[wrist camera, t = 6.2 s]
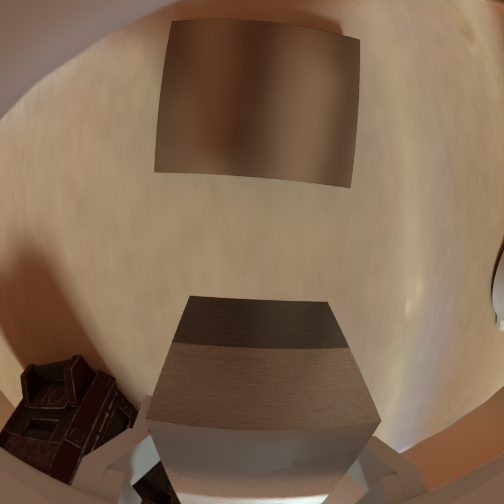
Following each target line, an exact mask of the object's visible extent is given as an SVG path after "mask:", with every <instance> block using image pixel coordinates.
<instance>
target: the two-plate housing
mask: <svg viewBox="0 0 504 504" xmlns="http://www.w3.org/2000/svg"><path fill="white" fill-rule="evenodd" d="M145 421H146V424H147V426H148V429H149V432H150V435H151V437H152V440H153V443H154V445H155V448H156V450H157V453H158V455H159V457H160V460H161V462H162V464H163V467H164V469H165V471H166V474H167V476H168V478H169V480H170V482H171V484H172V486H173V489H174V491H175V493H176V495H177V497H178V499H179V501H180V503H181V504H321V503H322V502H323V501H324V500H325V499H326V497H327V496H328V495H329V494H330V493H331V491H332V490H333V489H334V488H335V486H336V485H337V484H338V483H339V481H340V480H341V479H342V478H343V476H344V475H345V474H346V472H347V471H348V470H349V468H350V467H351V466H352V464H353V463H354V462H355V460H356V459H357V457H358V456H359V455H360V453H361V452H362V450H363V449H364V447H365V446H366V444H367V443H368V441H369V440H370V438H371V436H372V435H373V433H374V432H375V430H376V429H377V427H378V425H379V424H380V422H381V418H380V416H379V414H378V411H377V409H376V406H375V404H374V402H373V399H372V397H371V395H370V393H369V390H368V388H367V386H366V383H365V381H364V379H363V377H362V374H361V372H360V370H359V368H358V365H357V363H356V361H355V359H354V357H353V354H352V352H351V350H350V348H349V346H348V344H347V342H346V339H345V337H344V335H343V333H342V331H341V329H340V327H339V325H338V323H337V320H336V318H335V316H334V314H333V312H332V310H331V308H330V306H329V304H328V302H310V301H276V300H252V299H233V298H216V297H201V296H190V297H189V299H188V302H187V304H186V307H185V309H184V312H183V315H182V317H181V320H180V322H179V325H178V328H177V330H176V333H175V335H174V338H173V341H172V343H171V346H170V349H169V352H168V354H167V357H166V360H165V362H164V365H163V368H162V371H161V374H160V376H159V379H158V382H157V385H156V388H155V390H154V393H153V396H152V399H151V402H150V405H149V408H148V411H147V414H146V417H145Z"/></svg>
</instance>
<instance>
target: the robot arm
mask: <svg viewBox="0 0 504 504" xmlns="http://www.w3.org/2000/svg"><path fill="white" fill-rule="evenodd" d="M492 301H493V307H494V310H495V312H496V314H497V324H496V326H497V329H499V330H500V331H503V330H504V251H503V254H502V256H501V259H500V262H499V265H498V268H497V271H496V275H495V279H494V285H493V293H492ZM151 399H152V396H149V395H146V396H145V397H144V399H143V402H142V404H141V407H140V410H139V413H138V415H137V418H136V421H135V424H134V426H133V429H131V428H128V429H127V430H125V431H124V432H122V433H121V434H119V435H118V436H116V437H115V438H113V439H112V440H110V441H109V442H107V443H105V444H104V445H102V446H101V447H99V448H98V449H96V450H94V451H93V452H91V453H90V454H88V455H86V456H85V457H83V458H82V460H81V463H80V465H79V468H78V470H77V472H76V475H75V477H74V480H73V482H72V485H71V486H69V485H67V484H65V483H63V482H61V481H59V480H57V479H54V478H52V477H50V476H48V475H46V474H45V473H43V472H41V471H39V470H37V469H35V468H33V467H32V466H30V465H28V464H26V463H25V462H23V461H21V460H20V459H18V458H16V457H15V456H13V455H12V454H10V453H9V452H7V451H5V450H4V449H3V448H1V447H0V504H141V501H142V499H141V498H140V496H139V495H138V494H137V492H136V491H135V489H134V488H133V487H132V485H133V484H135V483H136V482H137V481H138V480H139V479H140V478H141V477H142V476H144V475H145V474H146V473H147V472H148V471H149V470H150V469H151V468H152V467H153V466H154V465H156V464H157V463H158V462H159V461H160V457H159V455H158V453H157V450H156V448H155V445H154V443H153V440H152V437H151V435H150V432H149V429H148V426H147V424H146V421H145V417H146V414H147V411H148V408H149V405H150V402H151ZM346 474H347V475H348V476H349V477H350V478H351V479H352V480H353V481H354V482H355V483H356V484H357V485H358V486H359V487H360V488H361V489H362V490H363V491H365V493H366V494H364V495H363V496H362V497H361V498H360V499H359V500H358V501H357V502H356V503H355V504H504V452H503V453H502V454H500V455H499V456H497V457H495V458H494V459H492V460H491V461H489V462H487V463H486V464H484V465H482V466H480V467H479V468H477V469H475V470H473V471H472V472H469V473H468V474H466V475H464V476H462V477H460V478H458V479H456V480H454V481H451V482H449V483H447V484H445V485H443V486H440V487H438V488H436V489H433V490H431V491H429V492H428V491H427V489H426V486H425V483H424V481H423V478H422V476H421V474H420V471H419V469H418V466H416V465H415V464H413V463H412V462H411V461H409V460H408V459H406V458H405V457H403V456H402V455H401V454H399V453H398V452H396V451H395V450H394V449H392V448H391V447H389V446H388V445H387V444H385V443H384V442H383V441H381V440H380V439H378V438H377V437H376V436H371V438H370V440H369V441H368V443H367V444H366V446H365V447H364V449H363V450H362V452H361V453H360V455H359V456H358V457H357V459H356V460H355V462H354V463H353V464H352V466H351V467H350V468H349V470H348V471H347V472H346Z"/></svg>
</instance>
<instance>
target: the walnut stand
mask: <svg viewBox="0 0 504 504" xmlns="http://www.w3.org/2000/svg"><path fill="white" fill-rule="evenodd" d="M359 79H360V40H359V39H356V38H352V37H348V36H344V35H340V34H336V33H332V32H327V31H323V30H318V29H312V28H307V27H301V26H295V25H288V24H280V23H272V22H261V21H248V20H183V21H172V24H171V29H170V34H169V39H168V45H167V51H166V57H165V63H164V70H163V77H162V85H161V93H160V102H159V112H158V122H157V135H156V149H155V169H154V172H162V173H196V174H216V175H233V176H246V177H259V178H270V179H280V180H290V181H299V182H308V183H316V184H324V185H331V186H338V187H345V188H350V187H351V179H352V171H353V162H354V153H355V143H356V131H357V118H358V102H359Z"/></svg>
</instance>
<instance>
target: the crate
mask: <svg viewBox="0 0 504 504" xmlns="http://www.w3.org/2000/svg"><path fill="white" fill-rule="evenodd" d="M20 377H21V387H22V395H23V398H22V400H21V401H20V403H19V404H18V406H17V407H16V409H15V410H14V412H13V414H12V415H11V416H10V418H9V420H8V421H7V423H6V424H5V426H4V427H3V429H2V430H1V432H0V447H1V448H3V449H4V450H5V451H7V452H9V453H10V454H12V455H13V456H15V457H16V458H18V459H20V460H21V461H23V462H25V463H26V464H28V465H30V466H32V467H33V468H35V469H37V470H39V471H41V472H43V473H45V474H46V475H48V476H50V477H52V478H54V479H57V480H59V481H61V482H63V483H65V484H67V485H69V486H71V485H72V482H73V480H74V477H75V475H76V472H77V470H78V468H79V465H80V463H81V460H82V458H83V457H85V456H86V455H88V454H90V453H91V452H93V451H94V450H96V449H98V448H99V447H101V446H102V445H104V444H105V443H107V442H109V441H110V440H112V439H113V438H115V437H116V436H118V435H119V434H121V433H122V432H124V431H125V430H127V429H128V428H131V429H133V426H134V424H135V421H136V418H137V415H138V413H139V412H138V411H137V410H136V409H135V408H134V407H133V406H132V405H131V404H130V402H129V401H128V400H127V399H126V398H125V397H124V395H123V394H122V393H121V392H120V391H119V389H118V388H117V387H116V386H115V382H116V378H114V377H112V376H110V375H108V374H106V373H104V372H102V371H99V372H98V374H97V375H95V373H94V372H93V371H92V369H91V368H90V367H89V365H88V364H87V363H86V361H85V360H84V359H83V357H82V356H81V355H76V356H73V357H72V358H71V360H66V361H61V362H56V363H51V364H45V365H40V366H35V365H34V364H32V365H29V366H28V367H27V368H26V369H25V371H24V372H23V373H22V374H21V376H20ZM63 378H65V382H56V383H48V381H46V380H55V379H63ZM132 487H133V488H134V489H135V491H136V492H137V494H138V495H139V496H140V498H141V499H142V501H141V504H181V503H180V501H179V499H178V497H177V495H176V493H175V491H174V489H173V486H172V484H171V482H170V480H169V478H168V476H167V474H166V471H165V469H164V467H163V464H162V462H161V460H160V461H159V462H158V463H157V464H156V465H154V466H153V467H152V468H151V469H150V470H149V471H148V472H147V473H146V474H145V475H144V476H142V477H141V478H140V479H139V480H138V481H137V482H136V483H135V484H133V485H132Z"/></svg>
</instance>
